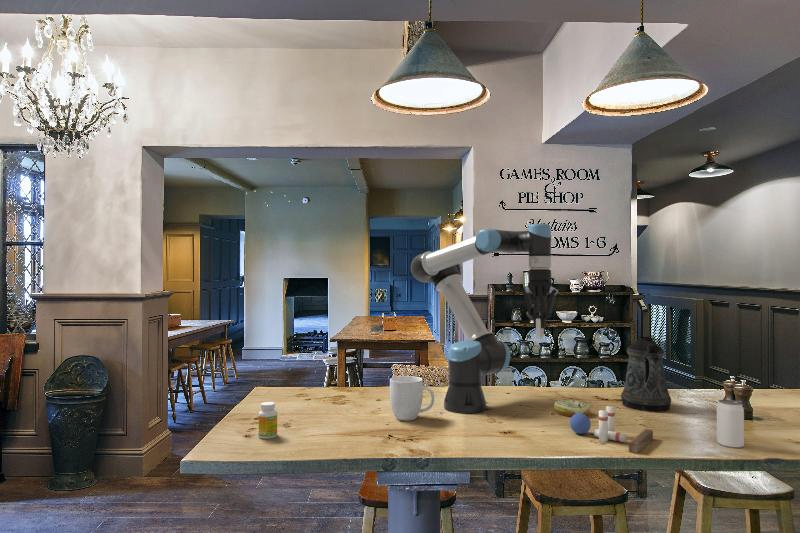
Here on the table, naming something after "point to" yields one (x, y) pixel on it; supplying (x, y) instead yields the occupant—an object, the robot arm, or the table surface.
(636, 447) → the rail
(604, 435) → the pin back right
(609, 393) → the table surface
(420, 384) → the mug
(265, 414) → the supplement bottle
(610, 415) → the pin back left
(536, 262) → the robot arm
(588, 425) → the ball
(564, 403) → the decorated donut
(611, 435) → the pin front
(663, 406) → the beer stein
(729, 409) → the can
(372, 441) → the table surface
